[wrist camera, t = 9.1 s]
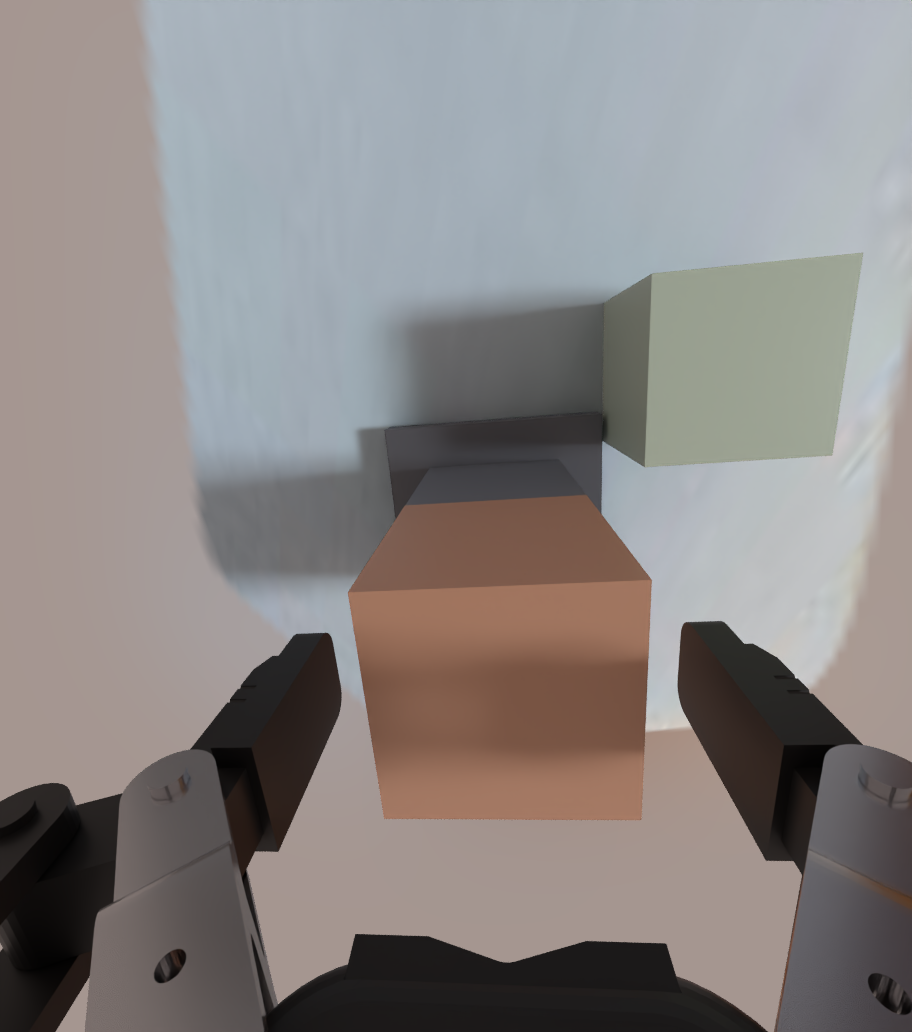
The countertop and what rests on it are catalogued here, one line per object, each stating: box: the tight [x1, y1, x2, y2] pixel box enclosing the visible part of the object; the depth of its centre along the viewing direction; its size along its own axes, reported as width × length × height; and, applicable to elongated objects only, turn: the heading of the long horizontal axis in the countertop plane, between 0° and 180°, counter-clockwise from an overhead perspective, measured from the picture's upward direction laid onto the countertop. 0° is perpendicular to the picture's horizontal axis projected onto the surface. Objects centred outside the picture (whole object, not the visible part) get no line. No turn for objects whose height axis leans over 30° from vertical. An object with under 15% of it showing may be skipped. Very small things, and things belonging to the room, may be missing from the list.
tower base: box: [385, 412, 602, 518], centre depth 18 cm, size 9×9×7 cm
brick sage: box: [602, 253, 863, 467], centre depth 17 cm, size 6×6×6 cm
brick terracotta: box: [348, 495, 652, 820], centre depth 12 cm, size 6×6×6 cm
